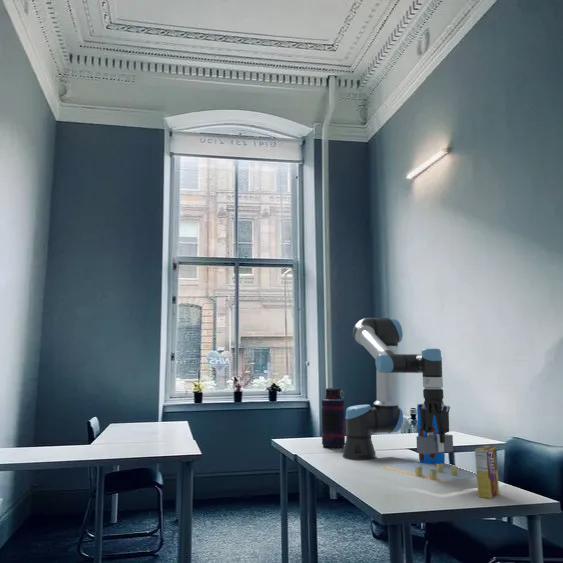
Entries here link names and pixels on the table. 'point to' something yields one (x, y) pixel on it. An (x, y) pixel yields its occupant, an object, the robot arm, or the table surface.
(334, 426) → the dark blue bottle
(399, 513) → the table surface
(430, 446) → the bar
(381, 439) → the table surface
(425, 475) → the door board
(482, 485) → the candy box
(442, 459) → the red-spotted blue pillar
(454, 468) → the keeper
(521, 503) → the table surface
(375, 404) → the robot arm
